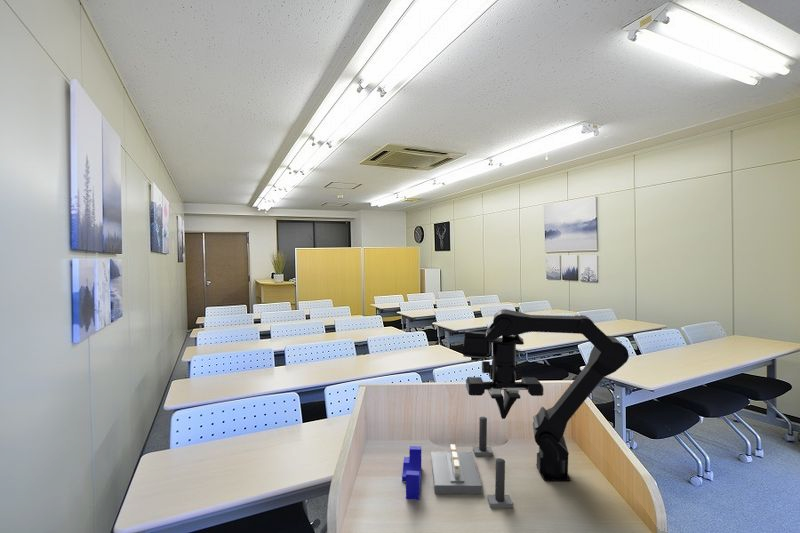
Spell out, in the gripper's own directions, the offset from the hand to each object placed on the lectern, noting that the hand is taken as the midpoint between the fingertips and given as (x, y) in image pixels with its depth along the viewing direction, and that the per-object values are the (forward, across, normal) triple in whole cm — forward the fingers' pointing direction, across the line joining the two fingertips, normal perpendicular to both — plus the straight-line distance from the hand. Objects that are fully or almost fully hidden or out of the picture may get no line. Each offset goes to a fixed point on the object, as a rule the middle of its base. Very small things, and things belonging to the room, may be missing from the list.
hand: (503, 418), depth 98 cm
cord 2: (+13, +4, +14) cm, 20 cm away
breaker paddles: (+11, +13, +4) cm, 17 cm away
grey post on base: (+13, +4, -6) cm, 15 cm away
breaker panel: (+13, +13, +4) cm, 19 cm away
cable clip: (+13, +24, +7) cm, 28 cm away
